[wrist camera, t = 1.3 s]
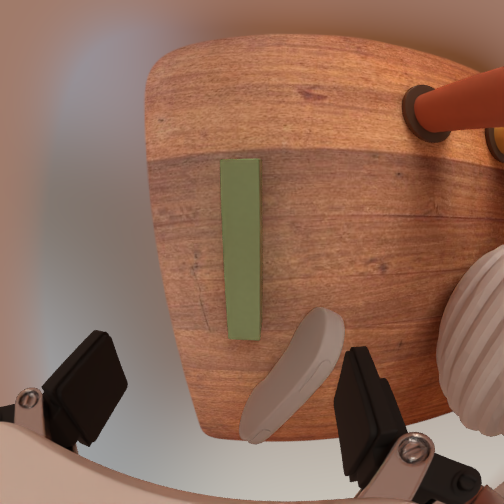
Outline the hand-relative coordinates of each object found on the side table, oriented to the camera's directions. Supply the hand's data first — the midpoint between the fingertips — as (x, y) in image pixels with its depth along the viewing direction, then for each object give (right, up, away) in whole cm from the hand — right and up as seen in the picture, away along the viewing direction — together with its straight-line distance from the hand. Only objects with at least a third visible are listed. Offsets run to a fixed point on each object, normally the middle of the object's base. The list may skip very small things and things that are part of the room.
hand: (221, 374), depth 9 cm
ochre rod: (+30, +18, +9) cm, 36 cm away
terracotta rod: (+18, +18, +10) cm, 28 cm away
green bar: (+1, +5, +16) cm, 17 cm away
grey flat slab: (+5, -8, +21) cm, 23 cm away
